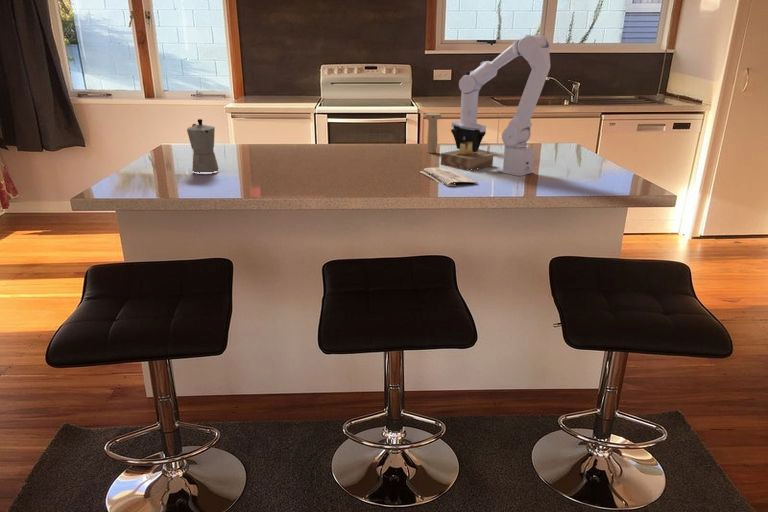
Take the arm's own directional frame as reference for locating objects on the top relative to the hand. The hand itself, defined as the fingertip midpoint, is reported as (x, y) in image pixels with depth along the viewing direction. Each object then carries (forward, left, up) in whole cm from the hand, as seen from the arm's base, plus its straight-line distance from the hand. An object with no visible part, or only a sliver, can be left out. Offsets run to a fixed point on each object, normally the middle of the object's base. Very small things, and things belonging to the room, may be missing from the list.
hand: (467, 150), depth 211 cm
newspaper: (-10, +19, -6) cm, 23 cm away
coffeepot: (+52, +76, -6) cm, 92 cm away
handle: (+24, -6, -6) cm, 25 cm away
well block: (0, 0, -5) cm, 5 cm away
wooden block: (0, 0, -5) cm, 5 cm away
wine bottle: (+20, -22, -6) cm, 30 cm away
